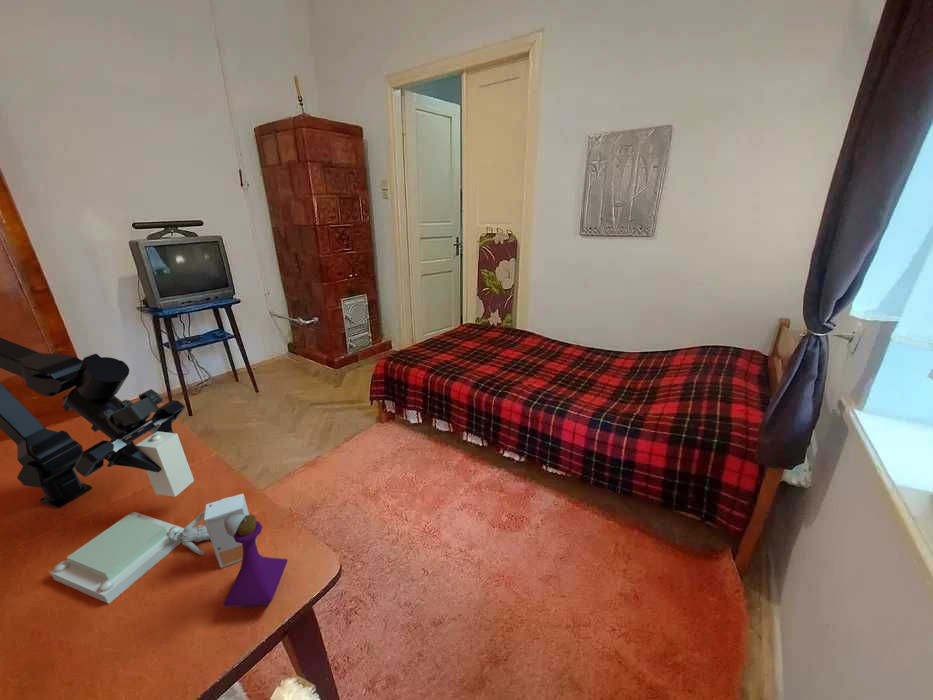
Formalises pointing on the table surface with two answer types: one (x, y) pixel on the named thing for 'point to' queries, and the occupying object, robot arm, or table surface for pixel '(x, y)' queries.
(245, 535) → the perfume bottle
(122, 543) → the studded pedestal base
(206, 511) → the skincare box
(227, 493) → the table surface
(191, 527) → the soldier figure
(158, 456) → the tall brick
